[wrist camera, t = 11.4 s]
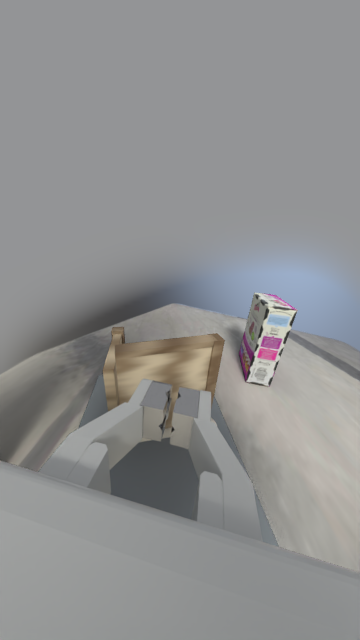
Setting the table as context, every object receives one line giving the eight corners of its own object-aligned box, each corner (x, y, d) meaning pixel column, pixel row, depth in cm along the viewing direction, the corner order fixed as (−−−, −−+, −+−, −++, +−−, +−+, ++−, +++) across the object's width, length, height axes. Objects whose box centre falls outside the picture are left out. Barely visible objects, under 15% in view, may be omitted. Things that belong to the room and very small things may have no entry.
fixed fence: (119, 445, 22) (112, 379, 18) (104, 448, 22) (94, 381, 17) (127, 377, 33) (123, 326, 29) (117, 377, 33) (112, 327, 29)
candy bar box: (271, 388, 34) (299, 310, 27) (245, 383, 35) (266, 306, 28) (258, 356, 44) (276, 293, 38) (238, 353, 45) (253, 291, 38)
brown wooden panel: (123, 443, 22) (114, 353, 17) (122, 429, 23) (114, 344, 18) (209, 418, 26) (224, 340, 21) (204, 408, 28) (217, 333, 22)
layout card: (284, 565, 15) (286, 563, 14) (-6, 649, 11) (-9, 647, 11) (202, 370, 37) (202, 368, 37) (99, 376, 33) (99, 374, 33)
